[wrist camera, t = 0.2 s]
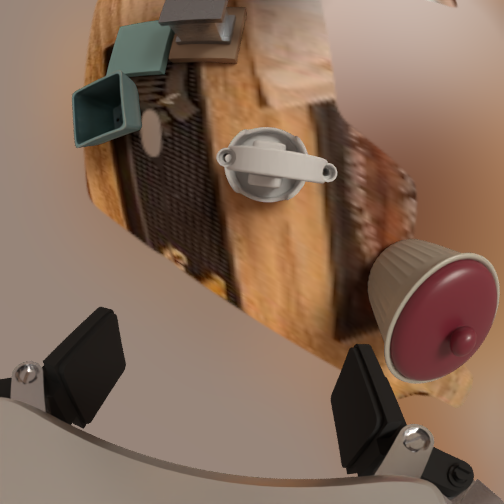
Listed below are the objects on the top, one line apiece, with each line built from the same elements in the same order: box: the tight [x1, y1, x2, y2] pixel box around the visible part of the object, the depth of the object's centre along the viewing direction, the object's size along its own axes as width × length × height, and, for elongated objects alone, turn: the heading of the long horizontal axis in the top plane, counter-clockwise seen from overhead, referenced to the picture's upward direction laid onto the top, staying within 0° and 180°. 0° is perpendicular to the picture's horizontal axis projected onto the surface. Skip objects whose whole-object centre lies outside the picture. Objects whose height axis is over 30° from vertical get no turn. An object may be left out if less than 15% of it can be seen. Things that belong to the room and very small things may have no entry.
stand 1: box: [106, 20, 175, 77], centre depth 31 cm, size 10×10×2 cm
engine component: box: [217, 127, 337, 202], centre depth 27 cm, size 11×20×10 cm
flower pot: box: [72, 70, 142, 148], centre depth 31 cm, size 9×9×9 cm
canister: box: [368, 239, 499, 383], centre depth 30 cm, size 18×18×21 cm
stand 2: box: [168, 7, 247, 63], centre depth 30 cm, size 10×10×2 cm
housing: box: [158, 0, 236, 45], centre depth 25 cm, size 8×5×8 cm, turn 82°
